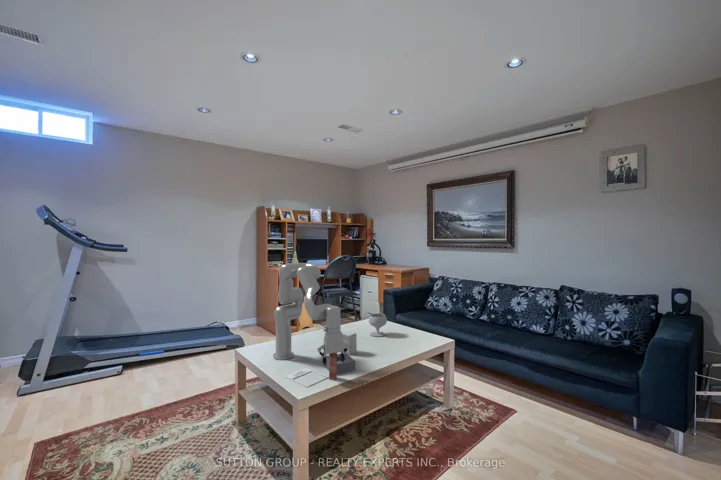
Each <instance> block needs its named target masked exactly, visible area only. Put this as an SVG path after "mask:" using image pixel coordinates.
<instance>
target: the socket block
mask: <svg viewBox="0 0 721 480" xmlns="http://www.w3.org/2000/svg"><path fill="white" fill-rule="evenodd" d="M323 365H324V364H323ZM324 367H325V368H326V369H327V370H328V371H329V355H326V365H324ZM353 371H356V360H355V359H354V358H353V357H352V356H351V355H348V354H347V353H345V354H344V362H342V361H341V360H340V353H337V374H341V373H347V372H353Z"/></svg>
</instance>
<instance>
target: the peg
mask: <svg viewBox="0 0 721 480" xmlns="http://www.w3.org/2000/svg"><path fill="white" fill-rule="evenodd" d="M337 354H338V353H332V354H328V356H329V370H328V375H329V376H328V379H329V380H330V381H335V380H337V379H338V373H337Z"/></svg>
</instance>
